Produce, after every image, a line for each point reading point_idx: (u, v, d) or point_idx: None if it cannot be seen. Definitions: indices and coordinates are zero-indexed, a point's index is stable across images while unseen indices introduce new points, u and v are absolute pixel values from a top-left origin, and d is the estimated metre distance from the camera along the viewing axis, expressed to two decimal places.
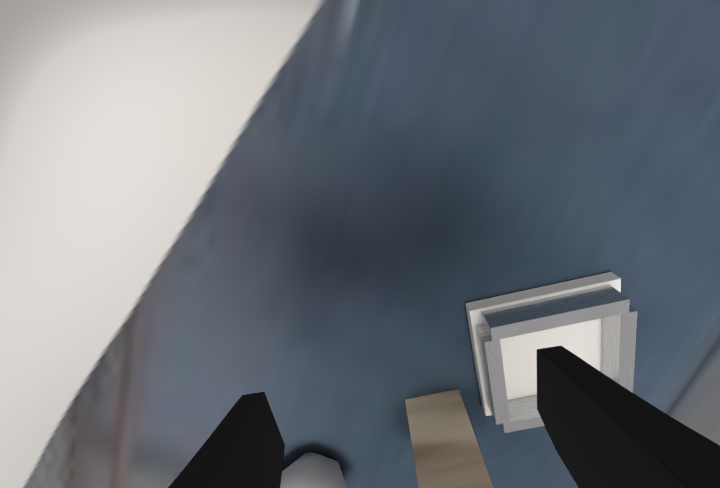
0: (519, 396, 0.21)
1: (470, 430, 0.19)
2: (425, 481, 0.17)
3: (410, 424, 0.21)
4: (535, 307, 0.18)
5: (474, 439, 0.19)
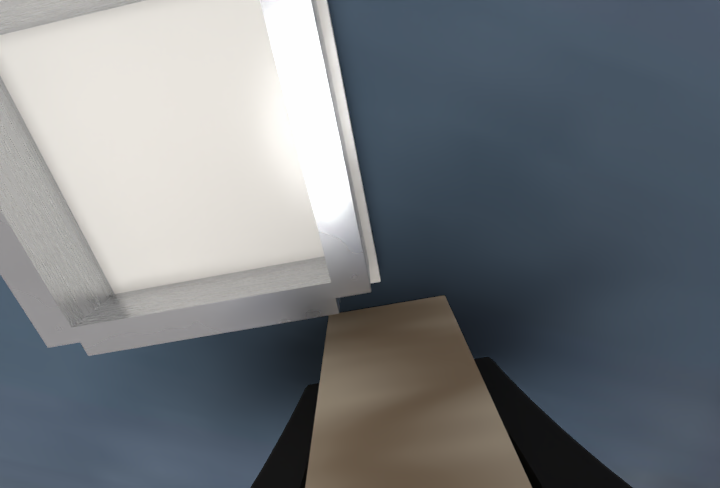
0: None
1: None
2: None
3: None
4: None
5: (316, 415, 0.07)
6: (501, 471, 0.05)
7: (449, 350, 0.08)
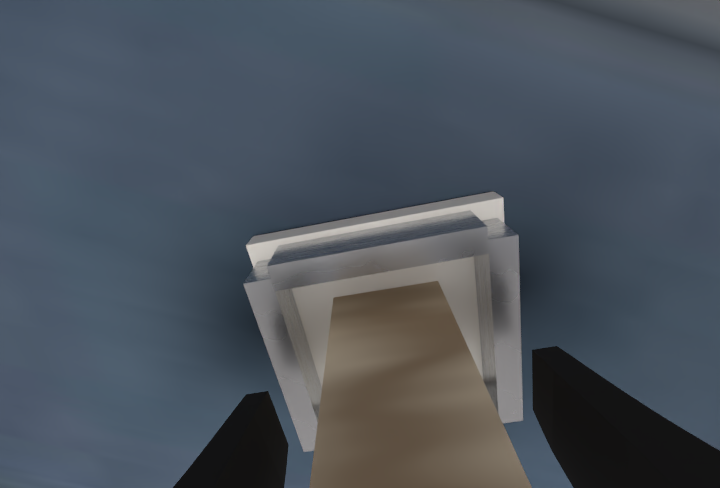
0: (478, 357, 0.13)
1: None
2: None
3: None
4: None
5: (324, 377, 0.08)
6: (479, 415, 0.07)
7: (440, 325, 0.09)
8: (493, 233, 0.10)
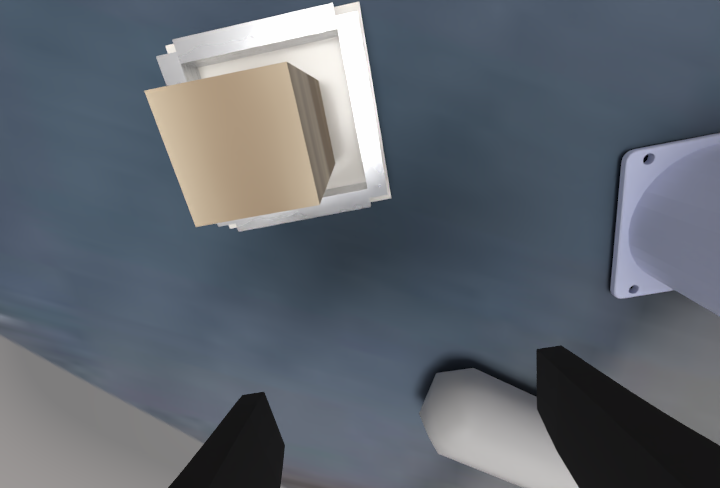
0: (359, 156, 0.16)
1: None
2: None
3: None
4: None
5: None
6: None
7: None
8: (342, 16, 0.13)
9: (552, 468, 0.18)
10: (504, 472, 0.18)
